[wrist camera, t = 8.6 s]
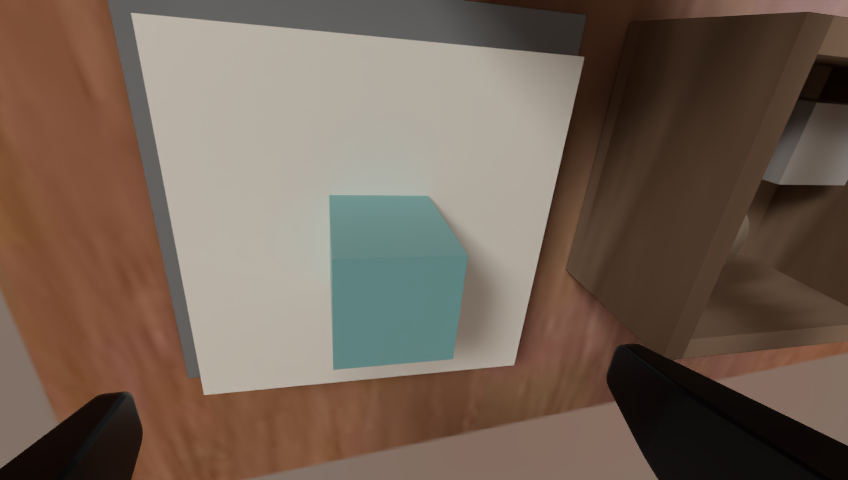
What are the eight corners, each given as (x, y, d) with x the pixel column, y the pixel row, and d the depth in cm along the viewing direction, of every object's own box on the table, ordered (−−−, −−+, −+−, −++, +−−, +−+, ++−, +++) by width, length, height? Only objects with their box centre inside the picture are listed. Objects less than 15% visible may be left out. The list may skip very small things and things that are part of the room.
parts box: (841, 46, 17) (1079, 50, 11) (740, 262, 21) (881, 337, 16) (630, 21, 14) (808, 12, 9) (566, 269, 19) (661, 360, 13)
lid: (548, 54, 14) (694, 64, 8) (494, 331, 19) (564, 451, 13) (163, 17, 11) (13, -3, 6) (218, 352, 16) (164, 512, 11)
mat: (580, 15, 14) (587, 14, 14) (510, 343, 20) (513, 348, 20) (105, -41, 11) (98, -44, 10) (191, 370, 17) (188, 377, 16)
